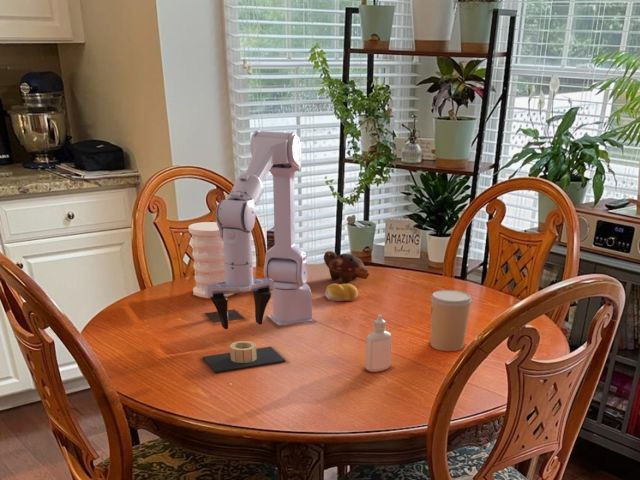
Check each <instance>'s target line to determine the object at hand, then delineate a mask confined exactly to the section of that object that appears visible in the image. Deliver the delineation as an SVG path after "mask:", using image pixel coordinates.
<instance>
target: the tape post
mask: <svg viewBox="0 0 640 480" xmlns="http://www.w3.org/2000/svg"><path fill="white" fill-rule="evenodd" d="M225 299H226V300H227V301H228V298H227V297H225ZM204 315H205V316H206V317H207V318H208V319H209V320H210V321H211V322H212V323H213V324H216V323H221V320H220V317H219V314H218V311H211V312H210V311H209V312H204ZM227 319H228V322H232V321H239V320H244V319H245V317H244V316H243V315H242V314H240V313H239V312H237V311H236V310H235V309H229V306H228V303H227Z"/></svg>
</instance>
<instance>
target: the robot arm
mask: <svg viewBox="0 0 640 480" xmlns="http://www.w3.org/2000/svg"><path fill="white" fill-rule="evenodd" d="M249 148H250V155H251V159H250V161H249V163H248V165H247V169H246V172H244V173H241V174H240V175H238V177H237V178H236V180H235V183H234V184H233V187H232V188H231V190H230V193H229V194H228V196H227V198H226V199H225V198H224V199H223V200H222V201H219V202H218V204H217V205H216V206H217V207H216V209H215V222H217V226H218V228H219V231H220V237H221V238H222V239H223V249H224V263H225V277H226V281H224V282H220V283H216V284H211V285H205V294H206V296H208V297H210V298H209V299H210V300H211V302H212V303H213V305H214V308H215V309H216V312H218V314H219V317H220V320H221V322H220V324H221V327H222V328H223V329H224V330H228V329H229V321H228V319H227V304H228V303H229V302H228V299H227V300H226V299H225V298H226V297H225V296H224V294H230V293H234V294H239V293H247V292H248V293H249V292H252V294H253V301H254V317H255V323H256V324H257V325H263V319H264V316H265V311H266V308H267V306H268V303H269V302H270V299H272V314H268V315H267V318H269V319H270V320H271V321H273V323H275V324H276V325H277V326H286V325H294V324H301V323H308V322H313V321H314V319H313V298H312V297H313V296H312V291H311V287H310V286H309V284H307V281H308V278H309V264H308V259H307V258H308V257H307V253H306V251H304V250H303V249H302V248H301V247H299V246H298V245H297V244H296V219H295V218H296V217H295V216H296V211H295V208H296V207H295V206H296V205H295V203H296V201H295V173H296V172H299V171H300V170H301V168H302V167H301V166H302V144H301V140H300V137H299V136H298V134H297V133H296V132H293V131H292V132H280V131H265V130H259V129H257V130H254V131H253V133H252V135H251V137H250V144H249ZM268 173H270V174H271V176H272V185H273V186H272V188H273V189H272V190H273V191H272V192H273V227H274V236H275V245H274V246H273V247H272V248H270V249H269V250H268V251H267V250H266V252H265V255H264V258H265V260H264V265H263V276H264V278H254V267H253V247H252V231H253V229H254V227H255V223H256V216H257V212H258V210H257V207H258V204H259V202H260V200H261V198H262V196H263V194H264V185H263V182H264V180H265V179H266V177H267V175H268ZM271 297H272V298H271Z"/></svg>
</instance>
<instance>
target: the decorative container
mask: <svg viewBox="0 0 640 480" xmlns="http://www.w3.org/2000/svg"><path fill="white" fill-rule="evenodd" d="M187 227H188V233H189V234H190V235H191V240H190V244H191V246H192V253H191V255H192V258H193V270H194V272H195V273H194V281H195V284H196V285H195V286H194V287H193V288H192V294H193V296H197V297H199V298H205V299H211V298H210V297H208V296H206V294H205V285H211V284H216V283H220V282H224V281H226V277H225V263H224V249H223V239H222V238H221V237H220V231H219V228H218V226H217V222H216V221H204V222H203V221H201V222H194V223H191V224H189V225H188V226H187ZM234 294H235V293H230V294H224V296H225V298H227V297H230V296H233V295H234Z"/></svg>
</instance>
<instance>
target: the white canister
mask: <svg viewBox="0 0 640 480" xmlns="http://www.w3.org/2000/svg"><path fill="white" fill-rule="evenodd" d="M430 301H431V304H430V306H431V307H430V345H431V347H432V348H434V349H436V350H439V351H444V352H445V351H446V352H455V351H460V350H461V349H462V350H463V347H464V344H465V339H466V334H467V329H468V322H469V318H470V311H471V305H472V302H473V298H472V296H471V294H470V293H468V292H465V291H462V290H457V289H441V290H436V291H434V292H433V293H432V294H431V296H430Z"/></svg>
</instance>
